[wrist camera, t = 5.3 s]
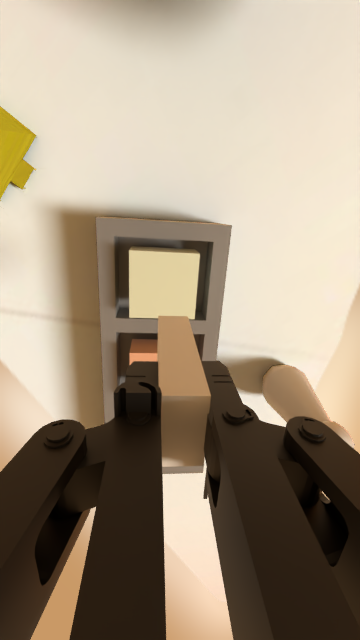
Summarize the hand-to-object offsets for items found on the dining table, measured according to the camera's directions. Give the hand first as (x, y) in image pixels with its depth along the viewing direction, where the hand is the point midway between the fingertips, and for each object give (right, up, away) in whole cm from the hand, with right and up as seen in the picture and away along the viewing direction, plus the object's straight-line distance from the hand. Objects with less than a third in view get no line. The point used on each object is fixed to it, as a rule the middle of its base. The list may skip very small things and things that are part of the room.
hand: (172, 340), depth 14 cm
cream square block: (-1, +5, +13) cm, 14 cm away
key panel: (-2, -3, +20) cm, 20 cm away
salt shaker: (+14, -7, +23) cm, 28 cm away
